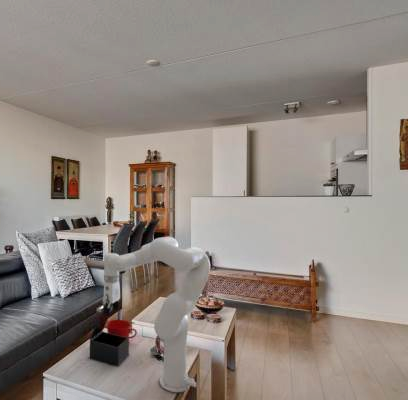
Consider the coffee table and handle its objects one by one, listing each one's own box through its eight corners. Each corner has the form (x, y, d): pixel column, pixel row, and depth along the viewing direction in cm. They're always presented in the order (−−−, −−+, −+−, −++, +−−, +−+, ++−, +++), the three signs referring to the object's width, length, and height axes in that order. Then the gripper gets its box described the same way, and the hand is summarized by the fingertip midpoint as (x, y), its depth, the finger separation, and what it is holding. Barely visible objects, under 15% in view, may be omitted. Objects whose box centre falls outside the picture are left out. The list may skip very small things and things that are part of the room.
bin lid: (114, 304, 161) (106, 299, 163) (102, 312, 150) (94, 306, 152) (102, 331, 164) (95, 325, 166) (90, 340, 153) (82, 334, 155)
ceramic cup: (132, 351, 162) (132, 332, 162) (102, 344, 169) (103, 326, 169) (140, 341, 173) (140, 323, 173) (112, 335, 180) (112, 318, 180)
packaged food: (175, 352, 160) (175, 343, 160) (164, 362, 151) (164, 352, 151) (160, 348, 166) (160, 338, 166) (149, 356, 156) (149, 347, 156)
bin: (128, 355, 157) (128, 337, 157) (118, 366, 146) (118, 348, 146) (101, 348, 165) (102, 331, 165) (89, 358, 153) (89, 340, 153)
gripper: (110, 283, 146) (110, 319, 146) (125, 275, 161) (125, 308, 161) (96, 281, 149) (96, 316, 149) (112, 273, 165) (112, 306, 164)
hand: (111, 312), depth 155 cm, fingers open, 9 cm apart
